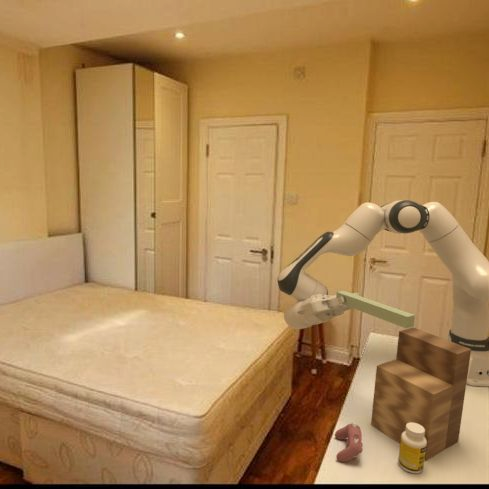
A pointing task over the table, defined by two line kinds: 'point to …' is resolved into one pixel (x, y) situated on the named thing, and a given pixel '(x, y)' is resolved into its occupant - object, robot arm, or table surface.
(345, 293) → the bar
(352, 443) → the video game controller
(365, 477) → the table surface
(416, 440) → the supplement bottle
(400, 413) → the pedestal
